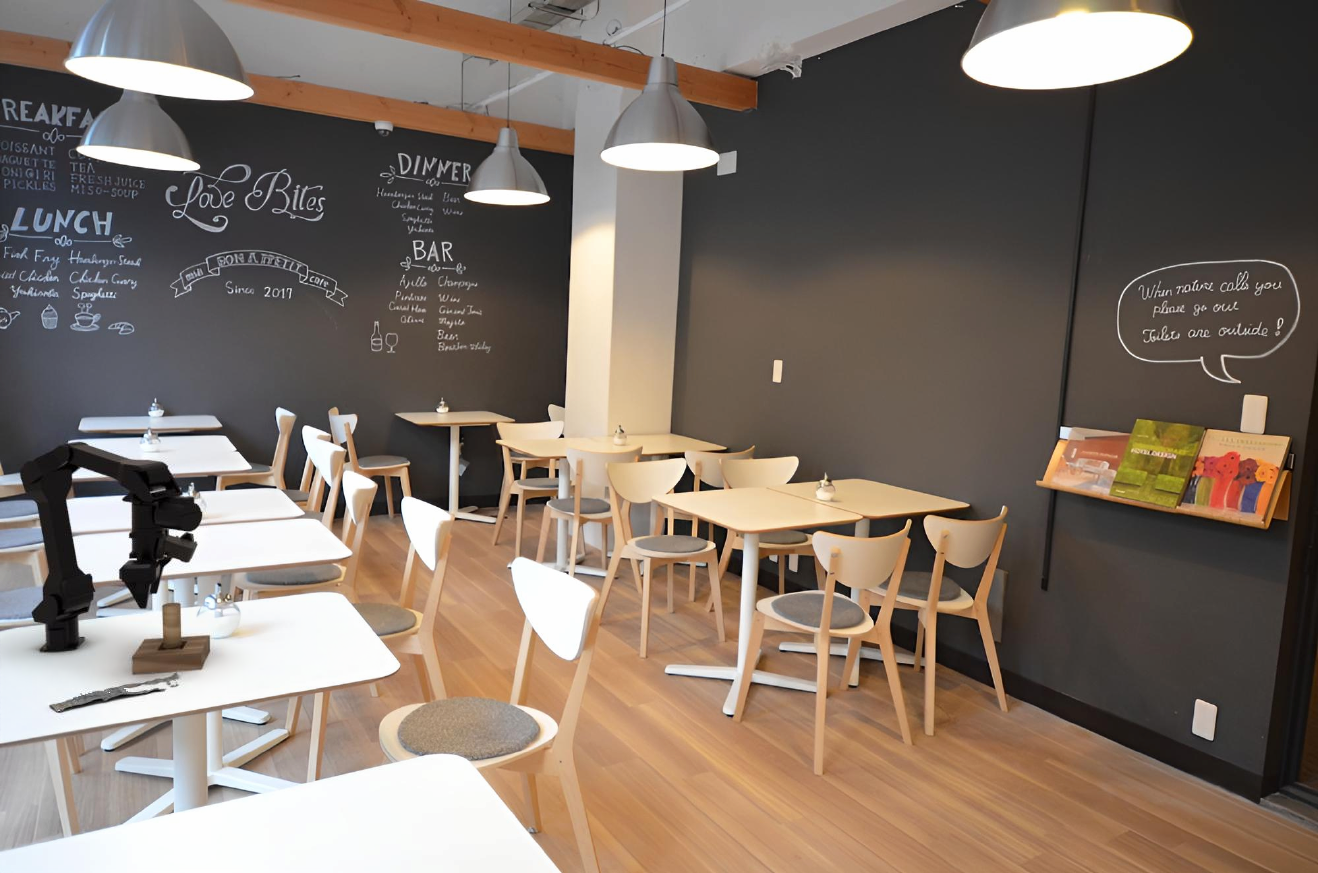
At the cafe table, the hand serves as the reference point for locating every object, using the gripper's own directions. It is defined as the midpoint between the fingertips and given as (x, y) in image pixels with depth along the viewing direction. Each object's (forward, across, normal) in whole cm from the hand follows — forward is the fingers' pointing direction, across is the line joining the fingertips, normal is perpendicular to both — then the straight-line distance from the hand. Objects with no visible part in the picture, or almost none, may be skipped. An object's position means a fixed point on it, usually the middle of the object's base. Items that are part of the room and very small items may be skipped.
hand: (148, 600), depth 172 cm
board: (+12, -2, -5) cm, 13 cm away
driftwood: (+13, -16, +2) cm, 21 cm away
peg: (+12, -2, -5) cm, 13 cm away
